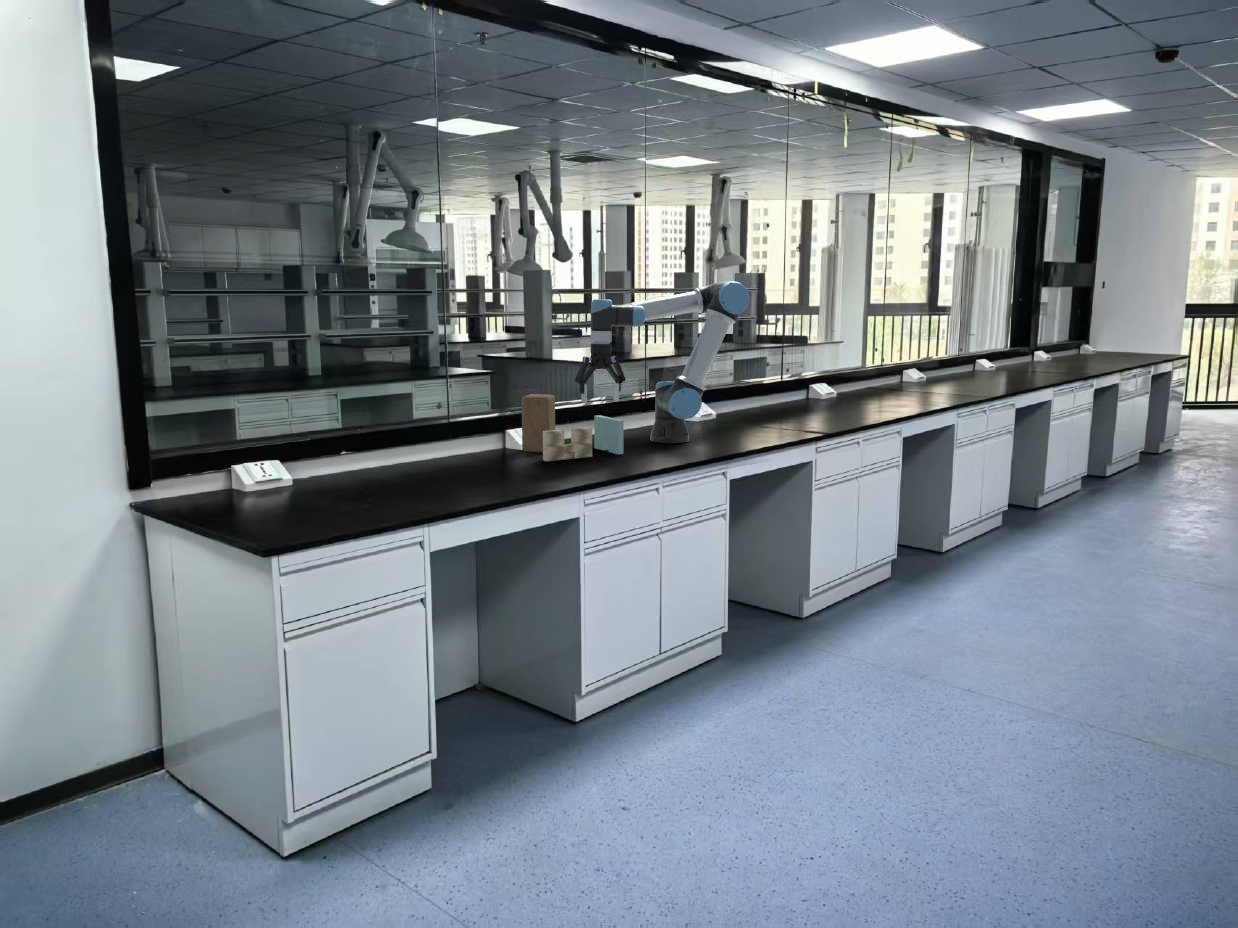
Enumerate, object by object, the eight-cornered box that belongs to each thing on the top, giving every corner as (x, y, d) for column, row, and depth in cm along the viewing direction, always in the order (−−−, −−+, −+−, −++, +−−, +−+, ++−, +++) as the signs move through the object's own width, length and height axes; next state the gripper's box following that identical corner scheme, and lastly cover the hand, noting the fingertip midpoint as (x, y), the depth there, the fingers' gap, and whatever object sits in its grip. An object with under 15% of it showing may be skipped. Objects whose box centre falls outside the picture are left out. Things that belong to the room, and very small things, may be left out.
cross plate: (594, 448, 328) (594, 415, 326) (600, 447, 329) (600, 415, 327) (617, 454, 314) (617, 420, 312) (623, 453, 316) (623, 420, 314)
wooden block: (548, 453, 316) (547, 397, 313) (521, 452, 318) (520, 396, 315) (555, 448, 326) (555, 394, 322) (529, 447, 328) (529, 393, 324)
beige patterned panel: (588, 455, 312) (588, 427, 310) (592, 456, 310) (592, 428, 308) (543, 460, 302) (542, 431, 300) (546, 461, 300) (546, 431, 298)
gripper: (624, 342, 329) (623, 399, 333) (565, 342, 316) (565, 402, 320) (635, 343, 323) (634, 401, 327) (575, 343, 310) (575, 404, 313)
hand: (600, 401), depth 323 cm, fingers open, 13 cm apart
